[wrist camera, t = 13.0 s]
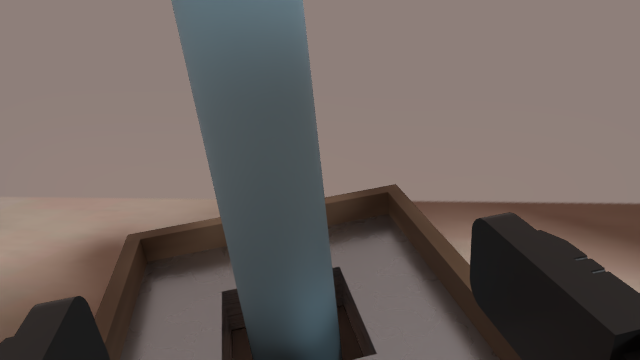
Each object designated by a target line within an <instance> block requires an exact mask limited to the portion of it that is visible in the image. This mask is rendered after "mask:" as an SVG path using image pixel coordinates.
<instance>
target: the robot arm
mask: <svg viewBox="0 0 640 360" xmlns="http://www.w3.org/2000/svg"><path fill="white" fill-rule="evenodd" d="M470 285H471V290H472V293H473V296H474V298H475V300H476V302H477V304H478V306H479V307H480V308H481V310H482V311H483V312H484V313H485V315H486V316H487V317H488V318H489V320H490V321H491V322H492V323H493V325H494V326H495V327H496V328H497V329H498V331H499V332H500V333H501V334H502V336H503V337H504V338H505V339H506V341H507V342H508V343H509V344H510V346H511V347H512V348H513V349H514V351H515V352H516V353H517V354H518V356H519V357H520V358H521V359H522V360H640V293H638V292H637V291H635V290H634V289H633V288H631V287H630V286H628V285H627V284H626V283H624V282H623V281H622V280H620V279H619V278H617V277H616V276H615V275H613V274H612V273H611V272H609V271H608V272H606V271H605V269H604V267H602V266H601V265H599V264H598V263H597V262H595V261H594V260H593V259H588V258H587V255H586V254H584V253H583V252H582V251H580V250H579V249H577V248H576V247H575V246H573V245H572V244H570V243H569V242H568V241H566V240H564V239H561V238H559V237H556V236H554V235H551V234H549V233H547V232H544V231H542V230H538V231H537V230H536V229H534V228H533V227H532V226H530V225H529V224H528V223H527V222H525V221H524V220H523V219H521V218H520V217H519V216H517V215H516V214H514V213H510V212H509V213H504V214H499V215H494V216H489V217H484V218H479V219H476V220H475V221H474V223H473V226H472V238H471V260H470ZM0 360H110V357H109V354H108V351H107V349H106V346H105V344H104V342H103V339H102V337H101V334H100V332H99V329H98V327H97V324H96V322H95V319H94V317H93V315H92V312H91V310H90V307H89V305H88V303H87V301H86V300H85V299H84V298H83V297H81V296H77V297H72V298H67V299H62V300H56V301H51V302H46V303H41V304H37V305H35V306H34V307H33V308H32V309H31V310H30V312H29V314H28V315H27V317H26V318H25V320H24V321H23V323H22V325H21V326H20V328H19V329H18V331H17V333H16V334H15V336H14V337H10V338H6V339H5V340H4V341H3V342H1V343H0Z"/></svg>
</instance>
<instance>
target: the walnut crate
mask: <svg viewBox="0 0 640 360" xmlns="http://www.w3.org/2000/svg"><path fill="white" fill-rule="evenodd" d="M325 207H326V216H327V225H328V226H330V225H335V224H340V223H345V222H350V221H355V220H360V219H365V218H370V217H375V216H380V215H385V214H389V215H390V216H391V217H392V219H393V220H394V221H395V222H396V224H397V225H398V226H399V228H400V229H401V230H402V232H403V233H404V234H405V236H406V237H407V238H408V240H409V241H410V242H411V243H412V245H413V246H414V247H415V249H416V250H417V251H418V253H419V254H420V255H421V257H422V258H423V259H424V261H425V262H426V263H427V265H428V266H429V267H430V268H431V270H432V271H433V272H434V274H435V275H436V276H437V278H438V279H439V280H440V282H441V283H442V284H443V286H444V287H445V288H446V290H447V291H448V292H449V293H450V295H451V296H452V297H453V299H454V300H455V301H456V303H457V304H458V305H459V307H460V308H461V309H462V311H463V312H464V313H465V315H466V316H467V317H468V318H469V320H470V321H471V322H472V324H473V325H474V326H475V328H476V329H477V330H478V332H479V333H480V334H481V336H482V337H483V338H484V339H485V341H486V342H487V343H488V345H489V346H490V347H491V349H492V350H493V351H494V353H495V354H496V355H497V357H498V358H499V359H500V360H522V359H521V358H520V357H519V356H518V354H517V353H516V352H515V351H514V349H513V348H512V347H511V346H510V344H509V343H508V342H507V341H506V339H505V338H504V337H503V336H502V334H501V333H500V332H499V331H498V329H497V328H496V327H495V326H494V325H493V323H492V322H491V321H490V320H489V318H488V317H487V316H486V315H485V313H484V312H483V311H482V310H481V308H480V307H479V306H478V304H477V302H476V300H475V298H474V296H473V293H472V290H471V285H470V265H469V264H468V263H467V262H466V261H465V259H464V258H463V257H462V256H461V255H460V254H459V253H458V252H457V251H456V250H455V249H454V247H453V246H452V245H451V244H450V243H449V242H448V241H447V240H446V239H445V238H444V236H443V235H442V234H441V233H440V232H439V231H438V230H437V229H436V228H435V227H434V226H433V224H432V223H431V222H430V221H429V220H428V219H427V218H426V217H425V216H424V215H423V214H422V212H421V211H420V210H419V209H418V208H417V207H416V206H415V205H414V204H413V203H412V202H411V200H410V199H409V198H408V197H407V196H406V195H405V194H404V193H403V192H402V191H401V189H400V188H399V187H398V186H397V185H396V184H395V185H389V186H384V187H379V188H374V189H368V190H363V191H358V192H352V193H347V194H342V195H336V196H331V197H326V198H325ZM224 246H227V243H226V238H225V234H224V230H223V225H222V221H221V217H220V218H215V219H209V220H204V221H199V222H193V223H188V224H183V225H177V226H172V227H167V228H162V229H156V230H151V231H146V232H140V233H135V234H130V235H128V236H127V239H126V241H125V244H124V246H123V249H122V251H121V254H120V256H119V259H118V261H117V264H116V266H115V269H114V271H113V274H112V276H111V279H110V281H109V284H108V287H107V289H106V292H105V294H104V297H103V299H102V302H101V304H100V307H99V309H98V312H97V314H96V317H95V322H96V324H97V327H98V329H99V332H100V334H101V337H102V339H103V342H104V344H105V346H106V349H107V351H108V354H109V357H110V360H120V357H121V353H122V350H123V346H124V343H125V339H126V336H127V332H128V329H129V325H130V322H131V318H132V314H133V311H134V307H135V304H136V300H137V297H138V293H139V290H140V286H141V283H142V279H143V276H144V272H145V268H146V265H147V262H148V261H154V260H159V259H164V258H169V257H174V256H179V255H184V254H189V253H194V252H199V251H204V250H209V249H214V248H219V247H224Z"/></svg>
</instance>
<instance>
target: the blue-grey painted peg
mask: <svg viewBox="0 0 640 360" xmlns="http://www.w3.org/2000/svg"><path fill="white" fill-rule="evenodd" d="M171 1H172V5H173V10H174V14H175V18H176V23H177V27H178V32H179V36H180V40H181V45H182V49H183V54H184V58H185V62H186V67H187V71H188V76H189V80H190V84H191V89H192V93H193V98H194V102H195V106H196V111H197V115H198V119H199V124H200V128H201V133H202V137H203V141H204V146H205V150H206V155H207V159H208V163H209V168H210V172H211V177H212V181H213V186H214V190H215V194H216V199H217V203H218V208H219V212H220V216H221V221H222V225H223V230H224V234H225V238H226V243H227V247H228V252H229V256H230V260H231V265H232V269H233V274H234V278H235V282H236V287H237V291H238V296H239V300H240V304H241V309H242V313H243V318H244V322H245V326H246V331H247V335H248V340H249V344H250V348H251V353H252V357H253V360H342V351H341V342H340V333H339V324H338V315H337V306H336V297H335V288H334V279H333V270H332V261H331V252H330V243H329V234H328V225H327V216H326V207H325V198H324V190H323V189H324V188H323V180H322V170H321V162H320V152H319V144H318V134H317V125H316V117H315V107H314V98H313V89H312V80H311V71H310V62H309V53H308V44H307V35H306V26H305V17H304V8H303V0H171Z"/></svg>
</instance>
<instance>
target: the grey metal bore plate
mask: <svg viewBox="0 0 640 360" xmlns="http://www.w3.org/2000/svg"><path fill="white" fill-rule="evenodd" d="M328 234H329V243H330V252H331V261H332V270H333V279H334V288H335V297H336V306H340V305H344V308H345V310H346V313H347V315H348V318H349V320H350V323H351V325H352V328H353V331H354V333H355V336H356V338H357V341H358V343H359V346H360V349H361V351H362V354H363V356H364V357H362V358H358V359H354V360H500V359H499V358H498V357H497V355H496V354H495V353H494V351H493V350H492V349H491V347H490V346H489V345H488V343H487V342H486V341H485V339H484V338H483V337H482V336H481V334H480V333H479V332H478V330H477V329H476V328H475V326H474V325H473V324H472V322H471V321H470V320H469V318H468V317H467V316H466V315H465V313H464V312H463V311H462V309H461V308H460V307H459V305H458V304H457V303H456V301H455V300H454V299H453V297H452V296H451V295H450V293H449V292H448V291H447V290H446V288H445V287H444V286H443V284H442V283H441V282H440V280H439V279H438V278H437V276H436V275H435V274H434V272H433V271H432V270H431V268H430V267H429V266H428V265H427V263H426V262H425V261H424V259H423V258H422V257H421V255H420V254H419V253H418V251H417V250H416V249H415V247H414V246H413V245H412V243H411V242H410V241H409V240H408V238H407V237H406V236H405V234H404V233H403V232H402V230H401V229H400V228H399V226H398V225H397V224H396V222H395V221H394V220H393V219H392V217H391V216H390V215H389V214H385V215H380V216H375V217H370V218H365V219H360V220H355V221H350V222H345V223H340V224H335V225H330V226H328ZM243 327H246V326H245V322H244V318H243V313H242V309H241V304H240V300H239V296H238V291H237V287H236V282H235V278H234V274H233V269H232V265H231V260H230V256H229V252H228V247H227V246H224V247H219V248H214V249H209V250H204V251H199V252H194V253H189V254H184V255H179V256H174V257H169V258H164V259H159V260H154V261H148V262H147V265H146V268H145V272H144V276H143V279H142V283H141V286H140V290H139V293H138V297H137V300H136V304H135V307H134V311H133V314H132V318H131V322H130V325H129V329H128V332H127V336H126V339H125V343H124V346H123V350H122V353H121V357H120V360H232V335H231V330H235V329H239V328H243Z"/></svg>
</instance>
